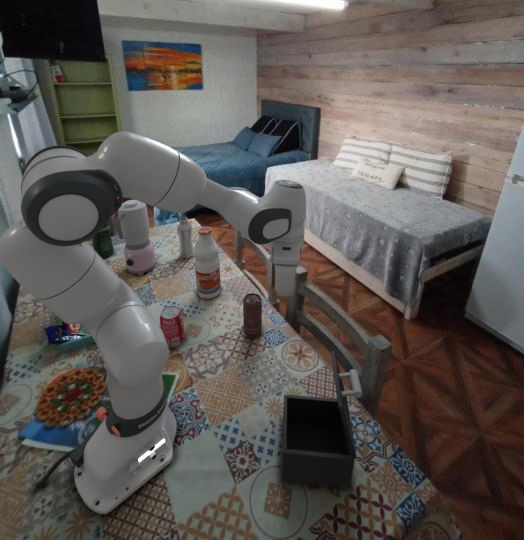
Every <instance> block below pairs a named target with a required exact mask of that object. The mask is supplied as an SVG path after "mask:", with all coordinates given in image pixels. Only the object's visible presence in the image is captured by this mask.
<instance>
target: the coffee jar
mask: <svg viewBox="0 0 524 540" xmlns="http://www.w3.org/2000/svg"><path fill="white" fill-rule="evenodd" d="M91 242H92V248H93V249H94V250H95V251H96V252H97V254H98V255H99V256H100V257H101V258H102V259H104V258H108V257H110V256H112V255H113V254H114V253H115V249H114V245H113V239H112V234H111V228H110V223H109V220H108V221H107V223H106V224H105V225H104V227H103V228H102V229H101V230H100V231H99V232H98V233H97V234H96V235H95V236H94V237H92V238H91Z"/></svg>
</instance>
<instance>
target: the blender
mask: <svg viewBox="0 0 524 540" xmlns="http://www.w3.org/2000/svg"><path fill="white" fill-rule="evenodd" d="M117 214H118V217H117V218H116V221H115V225H116V229H117V234H118V238H119V239H120V240H124V241H125V245H124V248H123V255H124V259H125V266H126V270H127V273H131V274H137V275H138V277H139V276H140V277H141V276H143V275H144V273H147V272H149V271H151V270H152V269H154V268H155V267H156V264H157V260H156V255H155V249H154V244H153V242H152V241H151V239H150V220H149V213H148V209H147V204H145V203H142V202H140V201H137V200H134V199H129V200H126V201H125V202H124V201H123V203H122V206H121V207H120V208H119V209H118V210H117Z"/></svg>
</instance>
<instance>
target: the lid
mask: <svg viewBox="0 0 524 540" xmlns="http://www.w3.org/2000/svg"><path fill="white" fill-rule="evenodd" d="M330 357H331V364H332V370H333V378H334V384H335V385H334V386H335V393H336V399H337V400H338V408H339V411H340V415H341V418H342V422H343V425H344V429H345V432H346V436H347V439H348V443H349V446H350V450H351V453H352V457H353V459H358V456H357V451H356V444H355V438H354V433H353V432H354V431H353V427H352V426H353V425H352V420H351V415H350V407H349V402H348V397H354V398H356V399H360V398H362V397H363V389H362V385H361V381H360V380H361V379H360V376H359V371H358V370H357V369H355V368H352V369H350V370H349V371H348V372H341V371H340V367H339V363H338V360H337V356H336V353H335V350H330ZM346 378H349V380H350V385H351V389H350V390H346V389H345V385H344V382H343V379H346Z"/></svg>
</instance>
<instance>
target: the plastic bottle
mask: <svg viewBox="0 0 524 540" xmlns="http://www.w3.org/2000/svg"><path fill="white" fill-rule="evenodd" d="M178 219H179V221H178V222H179V224H178V225H177V229H176V230H177V235H178V240H179V241H178V242H179V249H178V250H179V251H178V253H179V256H180V257H181V258H182V259H189V258H191V257H192V256H193V255H194V246H193V241H192V235H193V234H192V231H193V227H192V225H191V224H190V223H189V219H188V217H187V216H180V217H179V218H178Z"/></svg>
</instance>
